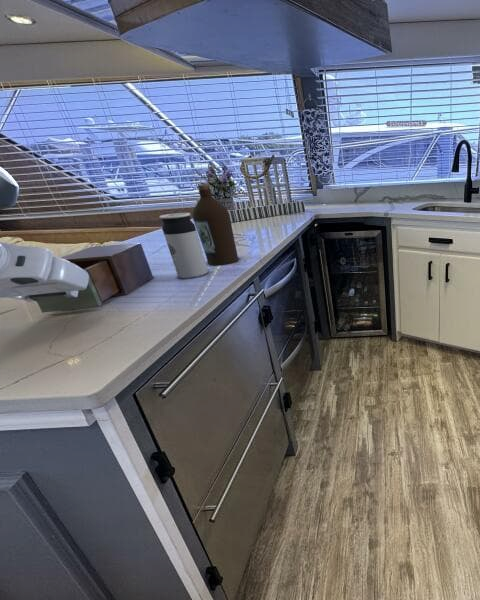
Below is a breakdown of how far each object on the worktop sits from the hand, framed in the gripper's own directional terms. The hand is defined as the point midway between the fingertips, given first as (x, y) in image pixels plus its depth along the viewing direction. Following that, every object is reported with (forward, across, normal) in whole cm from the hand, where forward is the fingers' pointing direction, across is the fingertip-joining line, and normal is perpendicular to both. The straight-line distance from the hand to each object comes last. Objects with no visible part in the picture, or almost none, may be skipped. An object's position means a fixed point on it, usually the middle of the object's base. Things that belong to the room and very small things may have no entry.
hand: (54, 296), depth 70 cm
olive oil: (+31, +23, +23) cm, 45 cm away
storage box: (+17, 0, +10) cm, 20 cm away
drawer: (+8, 0, +2) cm, 8 cm away
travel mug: (+22, +18, +14) cm, 31 cm away
